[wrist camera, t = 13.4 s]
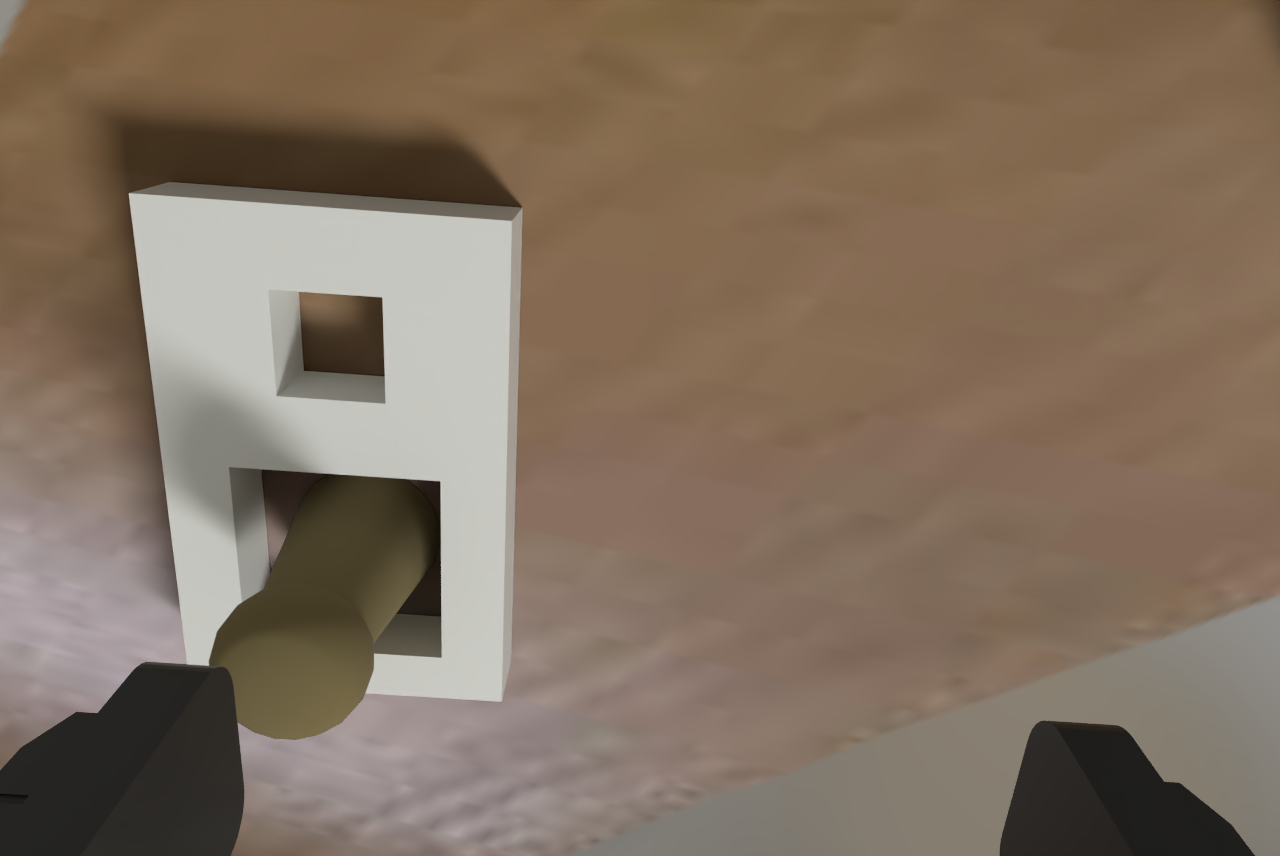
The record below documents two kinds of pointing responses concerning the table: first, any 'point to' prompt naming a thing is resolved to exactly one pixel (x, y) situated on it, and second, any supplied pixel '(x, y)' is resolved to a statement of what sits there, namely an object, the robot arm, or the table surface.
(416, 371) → the socket board
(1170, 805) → the robot arm
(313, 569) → the olive knobbed peg
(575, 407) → the table surface
